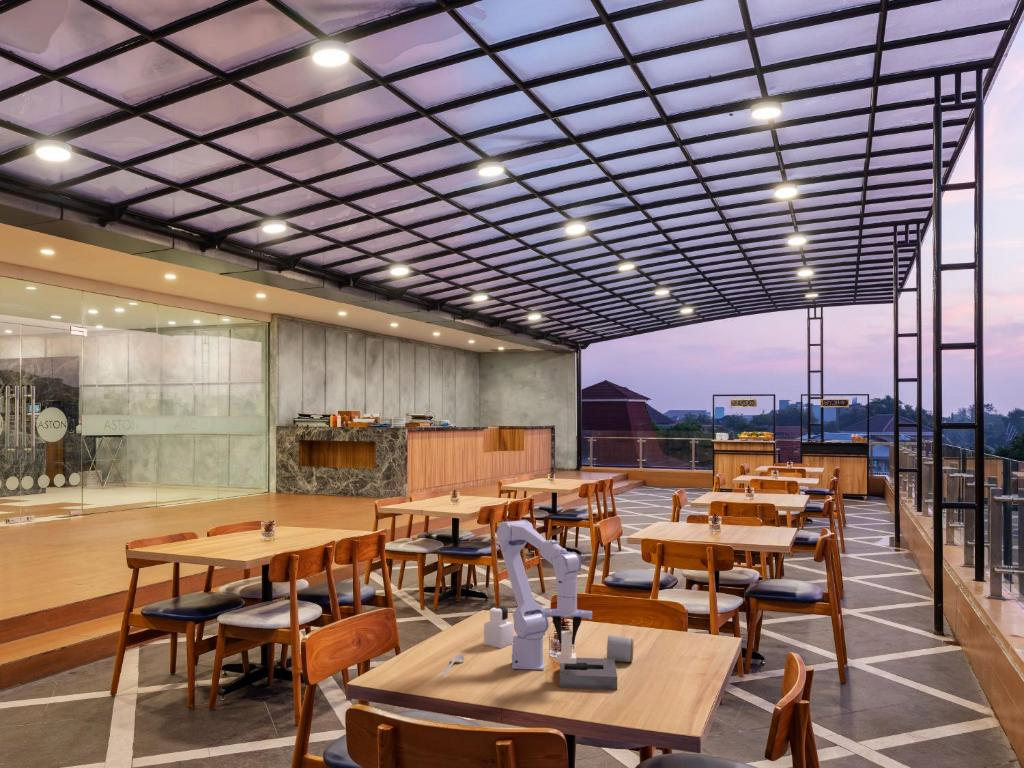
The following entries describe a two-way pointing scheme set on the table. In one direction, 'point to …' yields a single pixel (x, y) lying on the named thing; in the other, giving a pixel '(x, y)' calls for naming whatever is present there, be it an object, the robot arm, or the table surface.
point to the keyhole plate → (589, 674)
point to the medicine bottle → (498, 628)
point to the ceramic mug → (620, 648)
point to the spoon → (458, 657)
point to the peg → (566, 649)
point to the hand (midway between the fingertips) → (566, 643)
